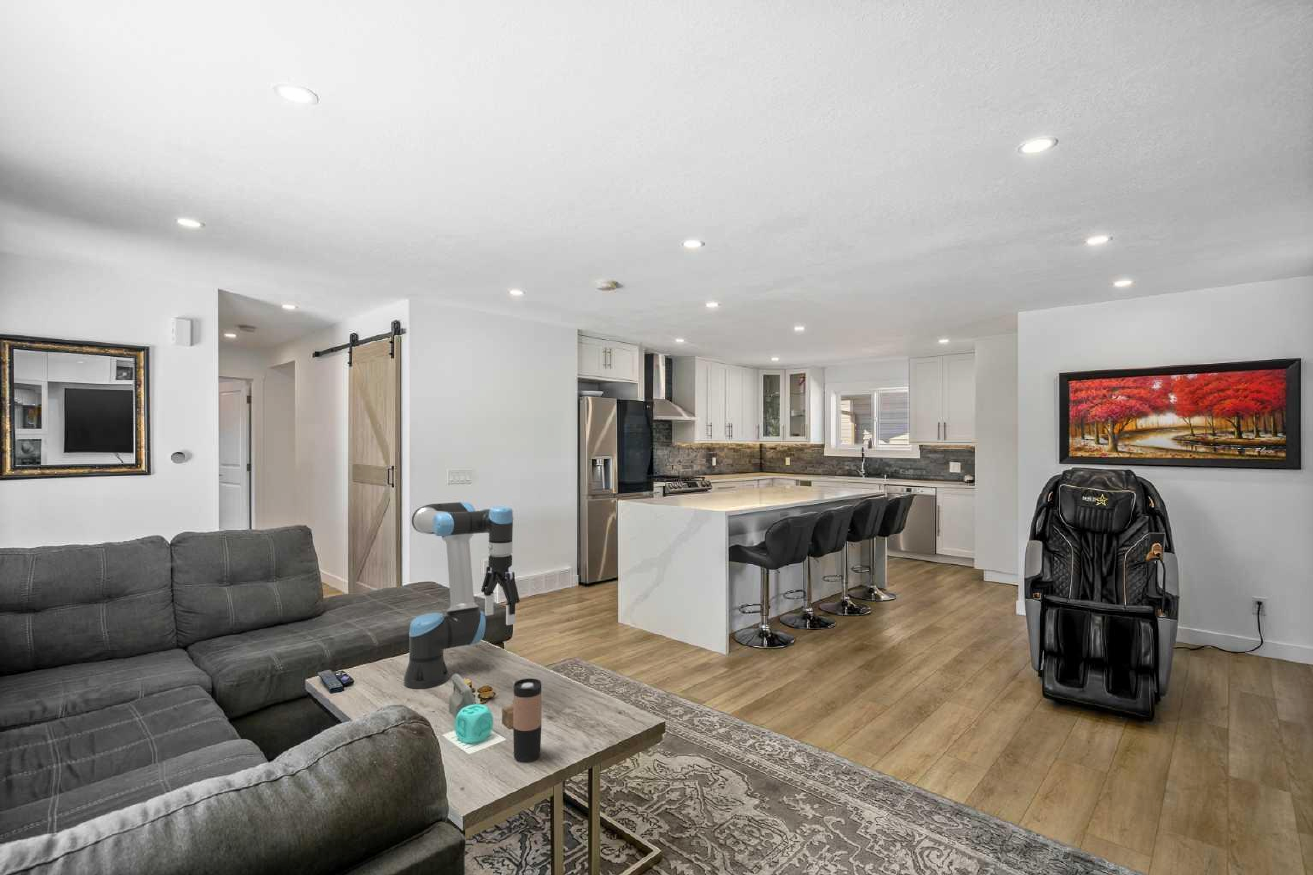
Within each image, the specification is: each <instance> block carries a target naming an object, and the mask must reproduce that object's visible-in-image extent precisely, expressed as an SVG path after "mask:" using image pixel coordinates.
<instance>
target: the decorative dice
mask: <svg viewBox="0 0 1313 875" xmlns="http://www.w3.org/2000/svg"><path fill="white" fill-rule="evenodd" d="M454 719H455V718H454ZM453 725H454V726H453V727H454V731H455V733H456V735H457V737H458V738H459V740H461V741H462V742H464V743H477V742H481V741H483V740H484V739H486V738H487V737H488V735H489V734H490V732H491V730H492V729H493V726H494V717H493V713H492V711H491V710H490V708H489V707H488V706H486V705H485V704H481V703H479V704H474V705H469V706H466V707H464V708H462V709H461V710H460V712H459V713H458V714H457V716H456V719H455V720H454V724H453ZM492 731H493V730H492Z"/></svg>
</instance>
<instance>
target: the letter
mask: <svg viewBox="0 0 1313 875" xmlns="http://www.w3.org/2000/svg"><path fill="white" fill-rule="evenodd" d="M441 737H444V738H445V739H447V740H448V741H449V742H451V743H452V744H453V745H454V746H456V747H458V748H459V749H461V750H462V751H463V752H465V753H466V754H468V755H471V754H473V753H476V752H478V751H481V750H484V749H487V748H489V747H492V746H494V745H496V744H499V743H501V742H504V741H507V738H505V737H504V736H501V735H500V734H499V733H497V732H495V731H494V730H491V732H490V734H489V735H488V737H487V738H486V739H484V740H483V741H481V742H477V743H464V742H462V741H461V740H459V738H458V737H457V735H456V733H455V730H452V731H449V732H446V733H444V734H441Z"/></svg>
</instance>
